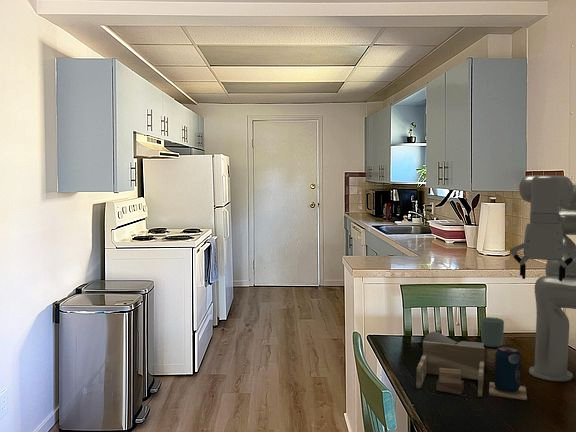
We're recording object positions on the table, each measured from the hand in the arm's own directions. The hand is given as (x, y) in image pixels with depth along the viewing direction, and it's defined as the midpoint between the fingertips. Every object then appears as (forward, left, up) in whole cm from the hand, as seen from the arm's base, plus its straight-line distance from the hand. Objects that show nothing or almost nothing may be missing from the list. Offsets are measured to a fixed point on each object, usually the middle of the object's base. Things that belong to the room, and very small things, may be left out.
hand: (541, 279), depth 165 cm
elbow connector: (-22, -25, -34) cm, 48 cm away
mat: (+1, -8, -33) cm, 34 cm away
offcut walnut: (+6, -24, -34) cm, 42 cm away
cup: (-48, -13, -34) cm, 60 cm away
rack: (0, -24, -33) cm, 41 cm away
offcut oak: (+6, -24, -31) cm, 39 cm away
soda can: (+1, -8, -33) cm, 34 cm away
